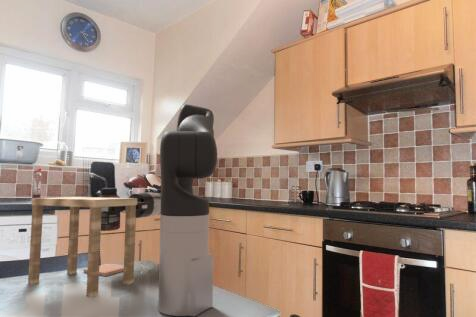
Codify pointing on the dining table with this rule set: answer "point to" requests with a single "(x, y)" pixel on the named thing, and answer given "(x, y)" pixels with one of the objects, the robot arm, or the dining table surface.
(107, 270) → the coaster
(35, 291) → the dining table surface
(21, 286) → the dining table surface
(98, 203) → the small wooden table
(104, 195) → the supplement bottle
